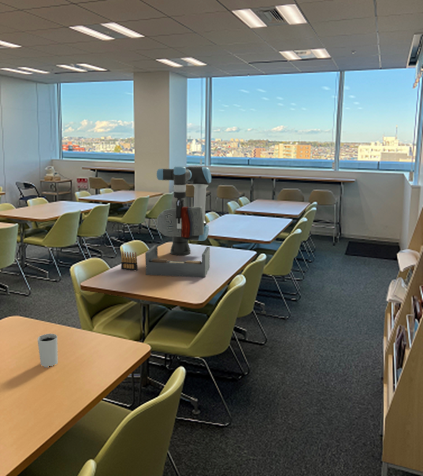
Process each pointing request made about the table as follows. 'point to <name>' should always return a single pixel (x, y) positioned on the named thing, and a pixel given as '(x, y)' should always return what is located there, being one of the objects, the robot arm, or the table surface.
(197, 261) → the teak offcut
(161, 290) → the table surface
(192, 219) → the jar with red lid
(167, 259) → the walnut offcut
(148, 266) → the rack
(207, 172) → the robot arm
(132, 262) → the ammunition clip
